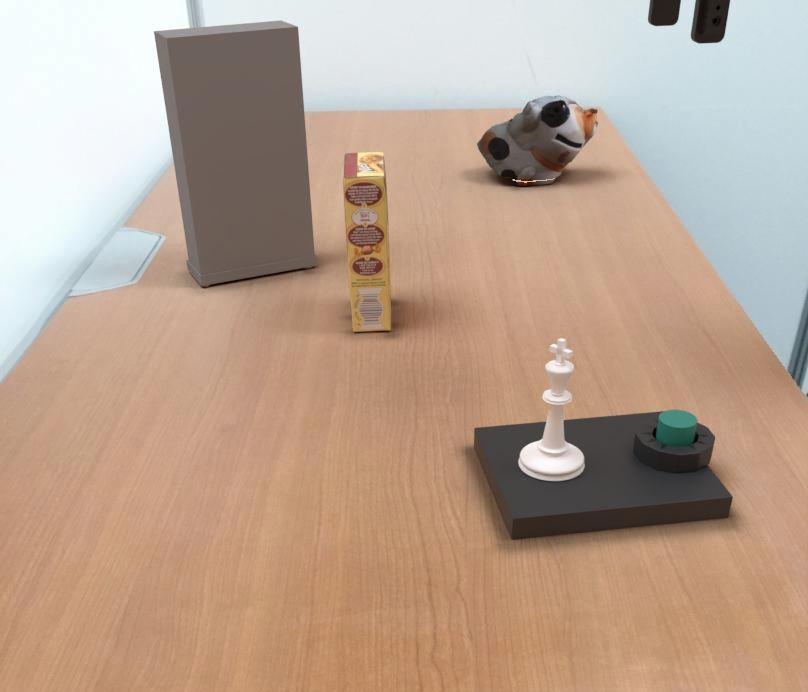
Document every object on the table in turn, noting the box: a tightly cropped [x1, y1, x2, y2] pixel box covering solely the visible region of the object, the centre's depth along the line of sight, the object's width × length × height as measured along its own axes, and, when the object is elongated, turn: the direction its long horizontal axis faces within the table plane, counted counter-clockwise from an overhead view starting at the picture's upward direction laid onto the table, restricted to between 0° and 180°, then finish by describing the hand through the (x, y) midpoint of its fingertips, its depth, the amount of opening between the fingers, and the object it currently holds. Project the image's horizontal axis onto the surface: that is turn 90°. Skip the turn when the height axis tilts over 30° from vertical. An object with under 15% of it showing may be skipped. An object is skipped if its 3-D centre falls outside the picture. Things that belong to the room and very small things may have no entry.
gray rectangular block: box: [153, 20, 318, 288], centre depth 104 cm, size 14×6×25 cm, turn 115°
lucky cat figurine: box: [476, 94, 599, 187], centre depth 137 cm, size 15×12×14 cm
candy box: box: [342, 151, 392, 333], centre depth 95 cm, size 9×4×15 cm, turn 2°
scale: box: [473, 410, 734, 541], centre depth 72 cm, size 17×13×4 cm
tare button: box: [656, 409, 698, 447], centre depth 71 cm, size 3×3×2 cm
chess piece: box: [518, 337, 585, 481], centre depth 69 cm, size 5×5×10 cm
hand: (683, 33), depth 70 cm, fingers open, 8 cm apart
